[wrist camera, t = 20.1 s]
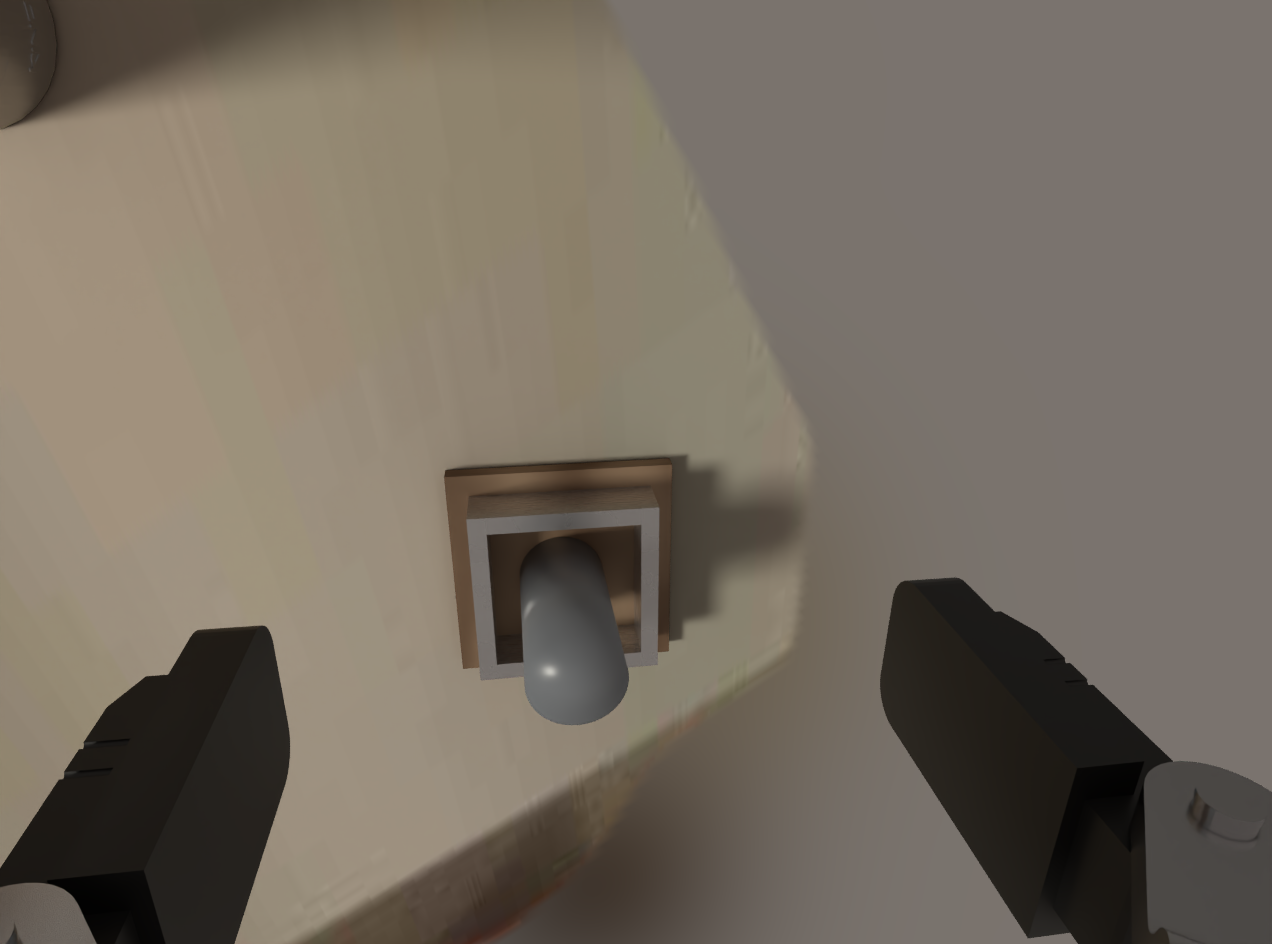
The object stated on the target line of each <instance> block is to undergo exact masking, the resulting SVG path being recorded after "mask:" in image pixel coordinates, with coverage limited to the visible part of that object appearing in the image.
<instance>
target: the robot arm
mask: <svg viewBox="0 0 1272 944" xmlns="http://www.w3.org/2000/svg"><path fill="white" fill-rule="evenodd" d="M56 50H57V42H56V35H55V28H54V21H53V18H52V15H51V12H50V9H49V6H48V3H47V0H0V129H3V128H5V127H7V126H9V125H11V124H13V123H15V122H17V121H19V120H21V119H23V118H24V117H25V116H26V115H27V114H29V113H30V112H31V111H32V110H33V109H34V108H35V107H36V106H38V104H39V102H40V101H41V99H42V98H43V96H44V95H45V93H46V92H47V90H48V88H49V86H50V82H51V79H52V76H53V73H54V70H55V64H56ZM880 690H881V698H882V703H883V707H884V711H885V714H886V716H887V719H888V721H889V723H890V724H891V726H892V728H893V730H894V731H895V733H896V734H897V736H898V737H899V739H900V740H901V742H902V744H903V745H904V747H905V748H906V750H907V751H908V753H909V754H910V756H911V757H912V759H913V761H914V762H915V764H916V765H917V767H918V768H919V770H920V771H921V773H922V775H923V776H924V778H925V779H926V781H927V782H928V784H929V785H930V787H931V788H932V790H933V792H934V793H935V795H936V796H937V798H938V799H939V801H940V802H941V804H942V806H943V807H944V808H945V810H946V812H947V813H948V815H949V816H950V818H951V820H952V821H953V823H954V824H955V826H956V827H957V829H958V830H959V832H960V834H961V835H962V837H963V838H964V840H965V841H966V843H967V844H968V846H969V847H970V849H971V851H972V852H973V853H974V855H975V857H976V858H977V860H978V861H979V863H980V865H981V866H982V868H983V869H984V871H985V872H986V874H987V875H988V877H989V878H990V880H991V882H992V883H993V884H994V886H995V888H996V889H997V891H998V892H999V894H1000V896H1001V897H1002V898H1003V900H1004V902H1005V903H1006V905H1007V906H1008V908H1009V909H1010V911H1011V913H1012V914H1013V916H1014V917H1015V919H1016V920H1017V922H1018V923H1019V925H1020V926H1021V928H1022V930H1023V931H1024V933H1025V934H1026V936H1027V937H1028V938H1034V937H1041V936H1049V935H1055V934H1062V933H1071V934H1072V936H1073V937H1074V939H1075V940H1076V942H1077V943H1078V944H1272V792H1271V791H1269V790H1268V789H1266V788H1264V787H1263V786H1261V785H1259V784H1257V783H1255V782H1253V781H1252V780H1250V779H1248V778H1246V777H1243V776H1241V775H1239V774H1236V773H1234V772H1231V771H1229V770H1225V769H1223V768H1220V767H1216V766H1212V765H1208V764H1203V763H1197V762H1188V761H1176V762H1173V761H1172V760H1171V759H1170V758H1169V757H1168V756H1167V755H1166V754H1165V753H1164V752H1163V751H1162V750H1161V749H1160V748H1159V747H1158V746H1157V745H1155V744H1154V743H1153V742H1152V741H1151V740H1150V739H1149V738H1148V737H1147V736H1146V735H1145V734H1144V733H1143V732H1142V731H1141V730H1140V729H1139V728H1138V727H1137V726H1136V725H1134V724H1133V723H1132V722H1131V721H1130V720H1129V719H1128V718H1127V717H1126V716H1125V715H1124V714H1123V713H1122V712H1121V711H1120V710H1119V709H1118V708H1117V707H1116V706H1115V705H1114V704H1112V702H1110V701H1109V700H1108V699H1107V698H1106V697H1105V696H1104V695H1103V694H1102V693H1101V692H1100V691H1099V690H1098V689H1097V688H1096V687H1095V686H1094V685H1088V683H1087V679H1086V678H1085V677H1084V676H1083V675H1082V674H1081V673H1080V672H1079V671H1078V670H1077V669H1076V668H1075V667H1074V666H1073V665H1072V664H1070V663H1065V658H1064V657H1063V656H1062V655H1061V654H1060V653H1059V652H1058V651H1057V650H1056V649H1055V648H1054V647H1053V646H1052V645H1051V644H1050V643H1049V642H1048V641H1046V639H1044V638H1043V637H1042V636H1041V635H1040V634H1039V633H1038V632H1037V631H1035V630H1033V629H1031V628H1029V627H1028V626H1026V625H1024V624H1022V623H1020V622H1019V621H1017V620H1015V619H1013V618H1012V617H1010V616H1008V615H1006V614H1004V613H1003V612H995V611H993V609H991V608H990V607H989V605H988V604H986V603H985V601H983V600H982V599H981V598H980V596H978V594H976V593H975V592H974V590H972V589H971V587H969V586H968V585H967V584H966V583H965V582H964V581H963V580H961V579H959V578H942V579H926V580H912V581H903V582H901V583H900V584H899V585H898V586H897V588H896V590H895V593H894V597H893V602H892V608H891V615H890V620H889V626H888V633H887V639H886V645H885V652H884V658H883V664H882V670H881V679H880ZM289 759H290V735H289V727H288V721H287V716H286V710H285V705H284V699H283V694H282V688H281V683H280V678H279V672H278V667H277V661H276V656H275V650H274V645H273V640H272V637H271V634H270V632H269V630H268V628H267V627H266V626H249V627H234V628H219V629H204V630H197V631H195V632H194V633H193V634H192V636H191V637H190V639H189V641H188V642H187V644H186V646H185V647H184V649H183V651H182V652H181V654H180V656H179V658H178V659H177V661H176V663H175V664H174V666H173V668H172V669H171V671H170V673H169V674H168V675H159V676H146V677H145V678H143V679H142V680H141V681H140V682H138V683H137V684H136V685H135V686H133V687H132V688H131V689H130V690H128V691H127V692H126V693H124V694H123V695H122V696H121V697H119V698H118V699H117V700H116V701H114V702H113V703H112V704H111V705H109V706H108V707H107V708H106V709H105V711H104V712H103V714H102V716H101V717H100V719H99V720H98V722H97V723H96V725H95V726H94V728H93V729H92V731H91V732H90V734H89V735H88V737H87V738H86V740H85V741H84V748H83V749H79V750H78V752H77V753H76V755H75V756H74V758H73V759H72V761H71V762H70V764H69V765H68V767H67V768H66V770H65V771H64V779H61V780H58V782H57V783H56V785H55V786H54V788H53V789H52V791H51V792H50V794H49V795H48V797H47V798H46V800H45V802H44V803H43V805H42V806H41V808H40V809H39V811H38V812H37V814H36V815H35V817H34V818H33V820H32V821H31V823H30V824H29V826H28V827H27V829H26V830H25V832H24V833H23V835H22V836H21V838H20V839H19V841H18V842H17V844H16V845H15V847H14V848H13V850H12V851H11V853H10V854H9V856H8V857H7V859H6V860H5V862H4V863H3V865H2V866H1V868H0V944H234V943H235V940H236V937H237V934H238V931H239V928H240V924H241V921H242V918H243V915H244V912H245V909H246V906H247V902H248V899H249V896H250V893H251V890H252V887H253V884H254V881H255V877H256V874H257V871H258V868H259V865H260V862H261V859H262V855H263V852H264V849H265V846H266V843H267V840H268V837H269V834H270V830H271V827H272V824H273V821H274V818H275V815H276V812H277V808H278V805H279V802H280V799H281V796H282V793H283V790H284V787H285V783H286V779H287V775H288V768H289Z"/></svg>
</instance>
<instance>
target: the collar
mask: <svg viewBox="0 0 1272 944" xmlns="http://www.w3.org/2000/svg"><path fill="white" fill-rule="evenodd" d="M466 522H467V533H468V544H469V555H470V566H471V578H472V589H473V600H474V611H475V622H476V633H477V645H478V656H479V667H480V678H481V680H490V679H501V678H512V677H524V660H523V639H522V633H521V634H509V635H497V625H496V612H495V599H494V586H493V574H492V561H491V548H490V535H492V534H508V533H523V532H538V531H554V530H569V529H585V528H600V527H615V526H631V525H634V624H632V625H620V626H617V627H618V631H619V636H620V640H621V644H622V648H623V652H624V656H625V660H626V664H627V667H638V666H649V665H657V661H658V581H659V505H658V503H657V500H656V498H655V495H654V492H653V490H652V487H651V486H634V487H617V488H600V489H583V490H567V491H550V492H533V493H516V494H499V495H482V496H469V497H468V507H467V518H466Z"/></svg>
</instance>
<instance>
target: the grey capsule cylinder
mask: <svg viewBox="0 0 1272 944" xmlns="http://www.w3.org/2000/svg"><path fill="white" fill-rule="evenodd" d="M520 597H521V618H522V639H523V660H524V681H525V692H526V696H527V698H528V701H529V703H530V704H531V706H532V707H533V708H534V710H535V711H536V712H537V713H539V714H540V715H541V716H543V717H544V718H546V719H548V720H550V721H552V722H555V723H559V724H564V725H581V724H586V723H590V722H593V721H596V720H598V719H600V718H602V717H604V716H606V715H607V714H609V713H610V712H611V711H613V710H614V709H615V708H616V707H617V706H618V704H619V703H620V702H621V700H622V699H623V697H624V695H625V693H626V691H627V687H628V681H629V673H628V668H627V664H626V660H625V656H624V652H623V648H622V644H621V640H620V636H619V631H618V627H617V623H616V619H615V615H614V611H613V607H612V603H611V599H610V595H609V591H608V587H607V583H606V579H605V575H604V571H603V567H602V563H601V560H600V558H599V556H598V554H597V553H596V552H595V550H594V549H593V548H592V547H591V546H589V545H588V544H587V543H585V542H583V541H581V540H579V539H575V538H571V537H555V538H551V539H548V540H545V541H543V542H541V543H539V544H537V545H536V546H535V547H533V548H532V549H531V550H530V551H529V552H528V554H527V555H526V556H525V558H524V560H523V562H522V564H521V568H520Z"/></svg>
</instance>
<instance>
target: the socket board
mask: <svg viewBox="0 0 1272 944" xmlns="http://www.w3.org/2000/svg"><path fill="white" fill-rule="evenodd" d="M444 480H445V491H446V501H447V511H448V521H449V531H450V541H451V551H452V561H453V571H454V582H455V592H456V602H457V612H458V622H459V632H460V642H461V652H462V662H463V669H467V668H478V667H479V656H478V645H477V633H476V622H475V611H474V600H473V589H472V578H471V566H470V555H469V544H468V533H467V522H466V518H467V507H468V497H469V496H482V495H499V494H516V493H533V492H550V491H567V490H583V489H600V488H617V487H634V486H651V487H652V490H653V492H654V495H655V498H656V500H657V503H658V505H659V581H658V652H665V651H669V606H670V553H671V500H672V463H671V461H670V459H669V458H664V459H646V460H628V461H609V462H591V463H573V464H555V465H536V466H518V467H500V468H481V469H463V470H445V476H444ZM555 537H571V538H575V539H579V540H581V541H583V542H585V543H587V544H588V545H589V546H591V547H592V548H593V549H594V550H595V552H596V553H597V554H598V556H599V558H600V560H601V563H602V567H603V571H604V575H605V579H606V583H607V587H608V591H609V595H610V599H611V603H612V607H613V611H614V615H615V619H616V623H617V626H620V625H632V624H634V525H631V526H615V527H600V528H585V529H569V530H554V531H538V532H523V533H508V534H492V535H490V548H491V561H492V574H493V586H494V599H495V612H496V625H497V635H509V634H521V633H522V618H521V597H520V568H521V564H522V562H523V560H524V558H525V556H526V555H527V554H528V552H529V551H530V550H531V549H532V548H533V547H535V546H536V545H537V544H539V543H541V542H543V541H545V540H548V539H551V538H555Z"/></svg>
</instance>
